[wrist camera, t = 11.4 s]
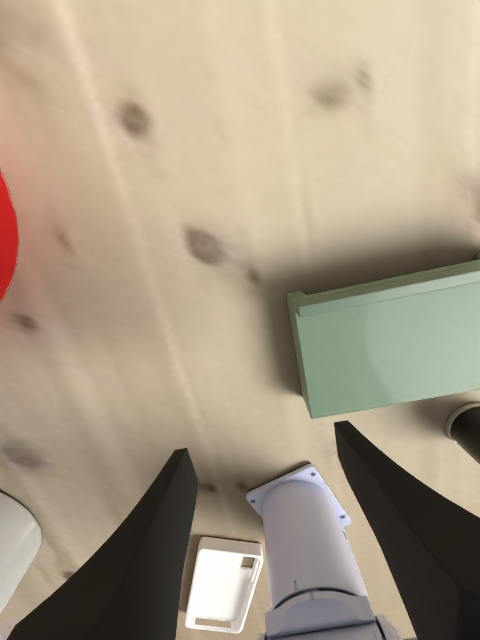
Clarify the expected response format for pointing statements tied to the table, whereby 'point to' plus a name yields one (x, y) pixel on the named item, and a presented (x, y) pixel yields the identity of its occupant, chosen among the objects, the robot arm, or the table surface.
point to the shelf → (388, 340)
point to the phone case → (223, 583)
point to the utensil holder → (15, 545)
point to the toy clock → (7, 238)
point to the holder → (466, 428)
